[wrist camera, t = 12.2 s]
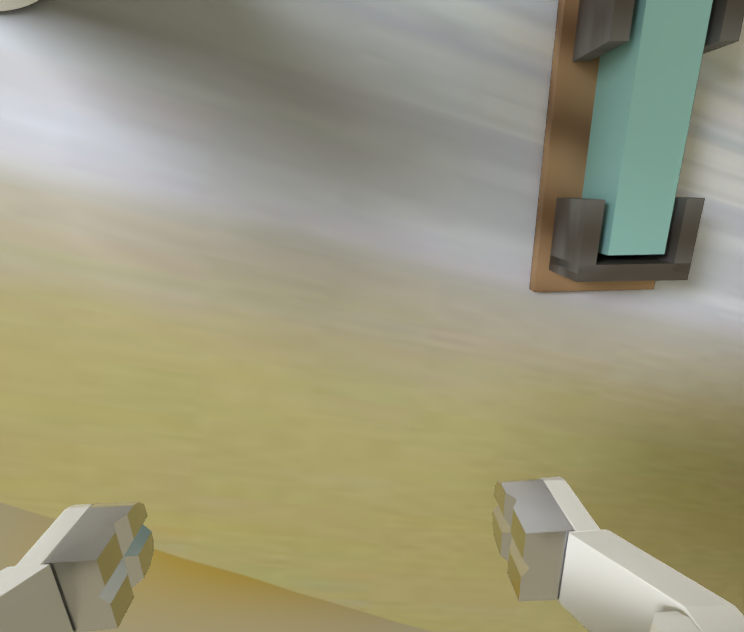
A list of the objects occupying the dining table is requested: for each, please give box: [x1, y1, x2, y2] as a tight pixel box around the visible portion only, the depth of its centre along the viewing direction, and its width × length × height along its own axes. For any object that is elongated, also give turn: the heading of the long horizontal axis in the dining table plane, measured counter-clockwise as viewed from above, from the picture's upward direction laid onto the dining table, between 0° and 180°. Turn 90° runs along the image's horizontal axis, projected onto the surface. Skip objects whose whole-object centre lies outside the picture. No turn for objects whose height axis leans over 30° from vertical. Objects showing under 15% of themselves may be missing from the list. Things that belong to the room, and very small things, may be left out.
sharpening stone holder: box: [529, 0, 744, 292], centre depth 29 cm, size 24×10×6 cm, turn 1°
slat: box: [582, 0, 713, 255], centre depth 29 cm, size 16×4×4 cm, turn 1°
